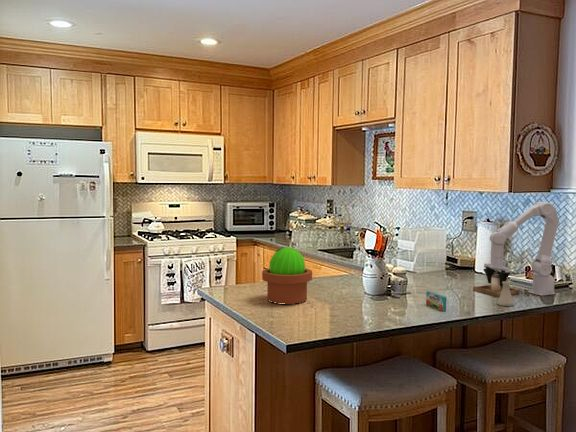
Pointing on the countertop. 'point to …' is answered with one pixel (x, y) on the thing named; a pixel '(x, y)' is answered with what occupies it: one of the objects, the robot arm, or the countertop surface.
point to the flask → (505, 296)
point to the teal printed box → (436, 300)
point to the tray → (487, 290)
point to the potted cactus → (287, 277)
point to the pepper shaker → (495, 283)
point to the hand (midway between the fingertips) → (496, 284)
